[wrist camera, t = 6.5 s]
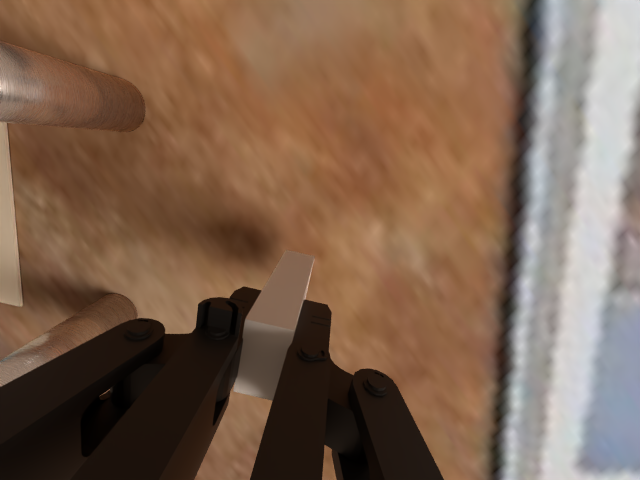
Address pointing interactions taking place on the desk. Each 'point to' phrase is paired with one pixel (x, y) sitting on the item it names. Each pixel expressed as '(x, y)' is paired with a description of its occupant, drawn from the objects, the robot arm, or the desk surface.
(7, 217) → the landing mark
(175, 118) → the desk surface
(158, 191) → the desk surface
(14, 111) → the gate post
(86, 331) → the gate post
